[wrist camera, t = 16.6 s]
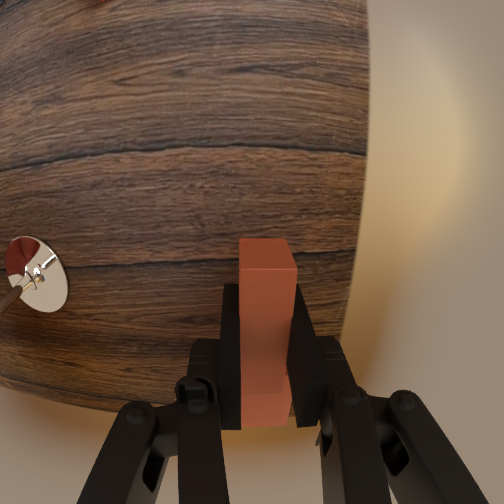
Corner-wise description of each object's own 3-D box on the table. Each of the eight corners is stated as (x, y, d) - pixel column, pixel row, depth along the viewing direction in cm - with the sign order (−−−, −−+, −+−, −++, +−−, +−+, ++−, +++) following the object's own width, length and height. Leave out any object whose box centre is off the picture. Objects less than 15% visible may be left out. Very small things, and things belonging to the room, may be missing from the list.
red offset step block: (219, 237, 14) (215, 268, 11) (304, 238, 14) (321, 268, 11) (225, 404, 19) (225, 442, 16) (283, 403, 19) (289, 440, 16)
